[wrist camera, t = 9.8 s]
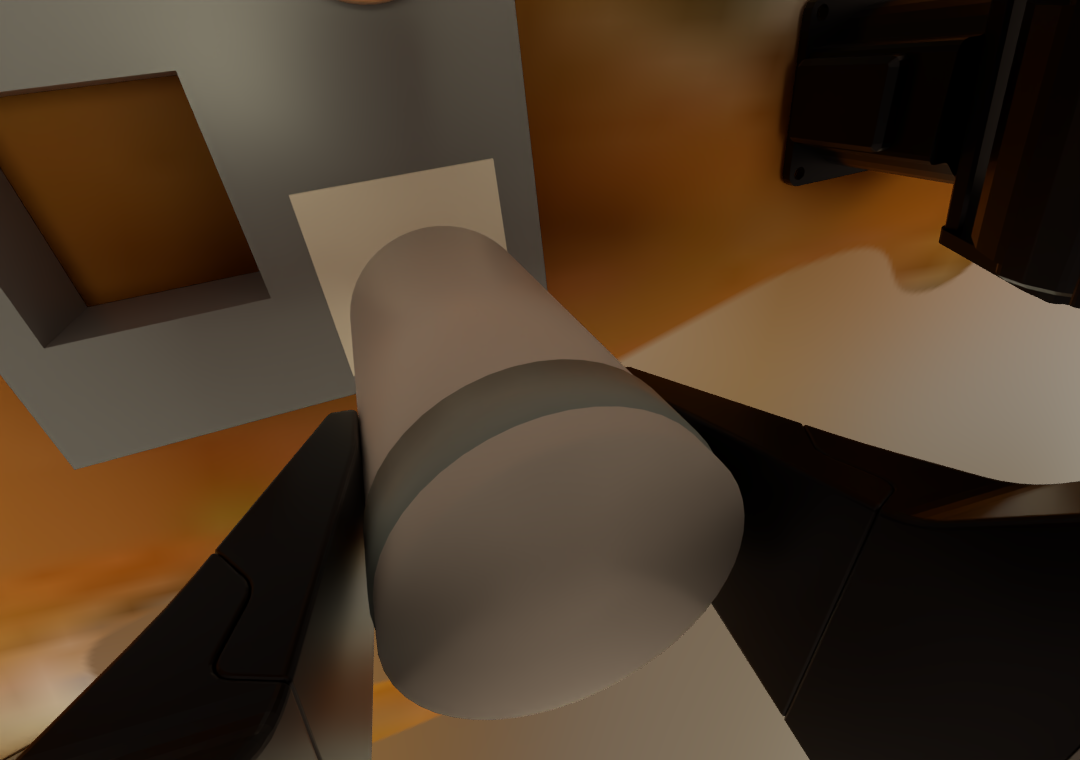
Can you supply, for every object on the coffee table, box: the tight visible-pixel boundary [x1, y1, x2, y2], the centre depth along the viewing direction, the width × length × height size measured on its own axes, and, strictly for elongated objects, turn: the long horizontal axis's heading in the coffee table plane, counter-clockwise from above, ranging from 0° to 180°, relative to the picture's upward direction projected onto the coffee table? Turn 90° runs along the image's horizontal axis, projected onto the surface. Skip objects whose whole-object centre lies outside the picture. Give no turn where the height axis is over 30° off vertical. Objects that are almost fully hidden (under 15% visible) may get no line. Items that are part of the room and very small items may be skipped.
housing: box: [0, 0, 547, 469], centre depth 14 cm, size 15×16×3 cm
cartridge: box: [350, 226, 745, 720], centre depth 9 cm, size 4×4×8 cm
